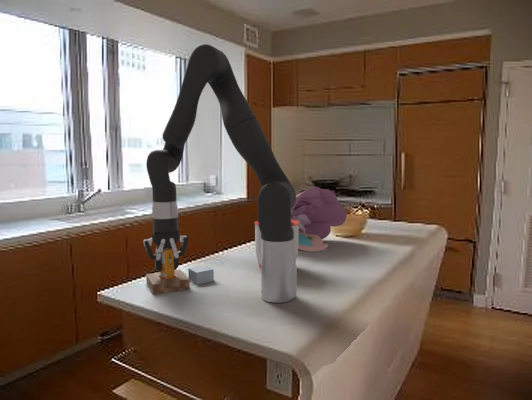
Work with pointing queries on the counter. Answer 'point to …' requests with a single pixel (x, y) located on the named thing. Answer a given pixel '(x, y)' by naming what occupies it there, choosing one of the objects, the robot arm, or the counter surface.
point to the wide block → (201, 274)
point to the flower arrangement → (316, 217)
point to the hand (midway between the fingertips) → (167, 270)
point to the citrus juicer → (258, 240)
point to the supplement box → (167, 264)
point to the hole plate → (167, 282)
